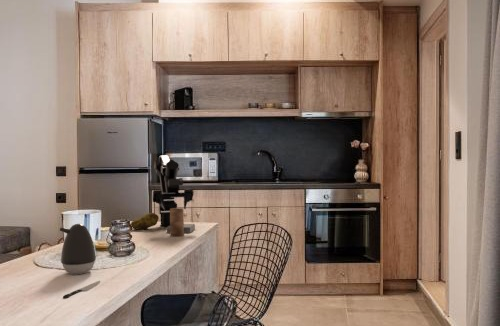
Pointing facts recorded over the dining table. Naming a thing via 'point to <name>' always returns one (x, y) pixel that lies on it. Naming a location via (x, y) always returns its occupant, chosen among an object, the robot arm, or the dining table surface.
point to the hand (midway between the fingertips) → (175, 209)
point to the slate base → (185, 228)
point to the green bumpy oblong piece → (145, 221)
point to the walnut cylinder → (176, 222)
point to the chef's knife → (82, 289)
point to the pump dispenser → (77, 250)
